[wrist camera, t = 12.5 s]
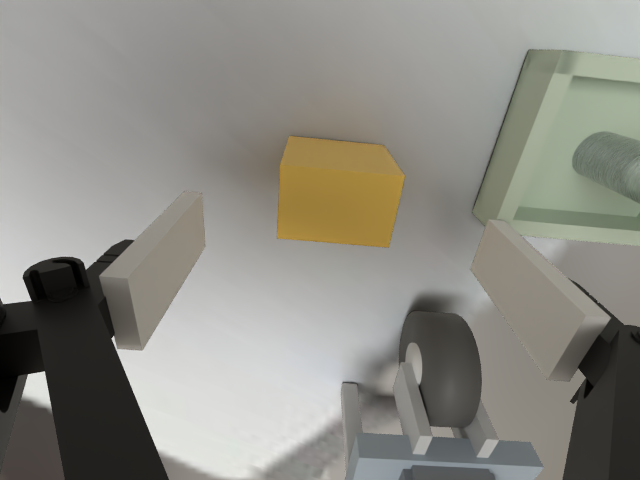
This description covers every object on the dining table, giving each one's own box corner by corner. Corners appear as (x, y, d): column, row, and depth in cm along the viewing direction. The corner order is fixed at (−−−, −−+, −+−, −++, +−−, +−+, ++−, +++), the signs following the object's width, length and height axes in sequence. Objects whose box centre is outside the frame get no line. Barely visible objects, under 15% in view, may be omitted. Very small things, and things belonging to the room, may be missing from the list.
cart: (337, 392, 33) (345, 537, 23) (357, 285, 27) (380, 422, 17) (457, 399, 34) (514, 543, 24) (505, 296, 28) (609, 435, 18)
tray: (529, 49, 19) (562, 49, 16) (730, 72, 20) (794, 76, 17) (472, 212, 24) (491, 233, 21) (635, 227, 25) (673, 248, 22)
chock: (289, 135, 21) (280, 164, 16) (384, 145, 22) (405, 176, 16) (286, 195, 23) (277, 238, 18) (373, 203, 24) (388, 247, 18)
